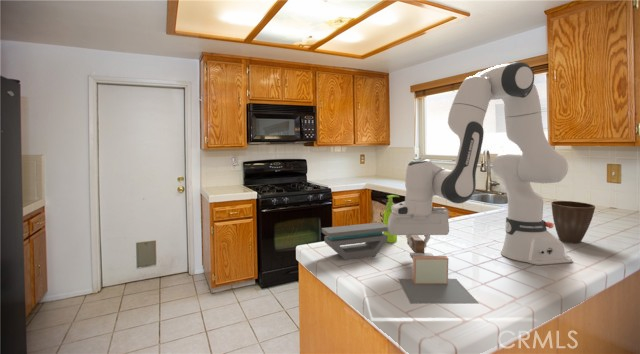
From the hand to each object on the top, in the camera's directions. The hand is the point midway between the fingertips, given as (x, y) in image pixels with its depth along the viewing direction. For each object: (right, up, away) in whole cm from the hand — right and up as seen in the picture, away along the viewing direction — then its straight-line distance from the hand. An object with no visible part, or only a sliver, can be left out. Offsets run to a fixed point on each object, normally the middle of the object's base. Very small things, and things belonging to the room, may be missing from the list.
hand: (417, 247), depth 116 cm
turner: (0, -2, -1) cm, 2 cm away
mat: (0, -9, -18) cm, 20 cm away
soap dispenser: (-2, -4, +33) cm, 33 cm away
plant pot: (+74, -4, +29) cm, 79 cm away
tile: (0, -8, -13) cm, 16 cm away
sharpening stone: (-20, -6, +14) cm, 25 cm away
